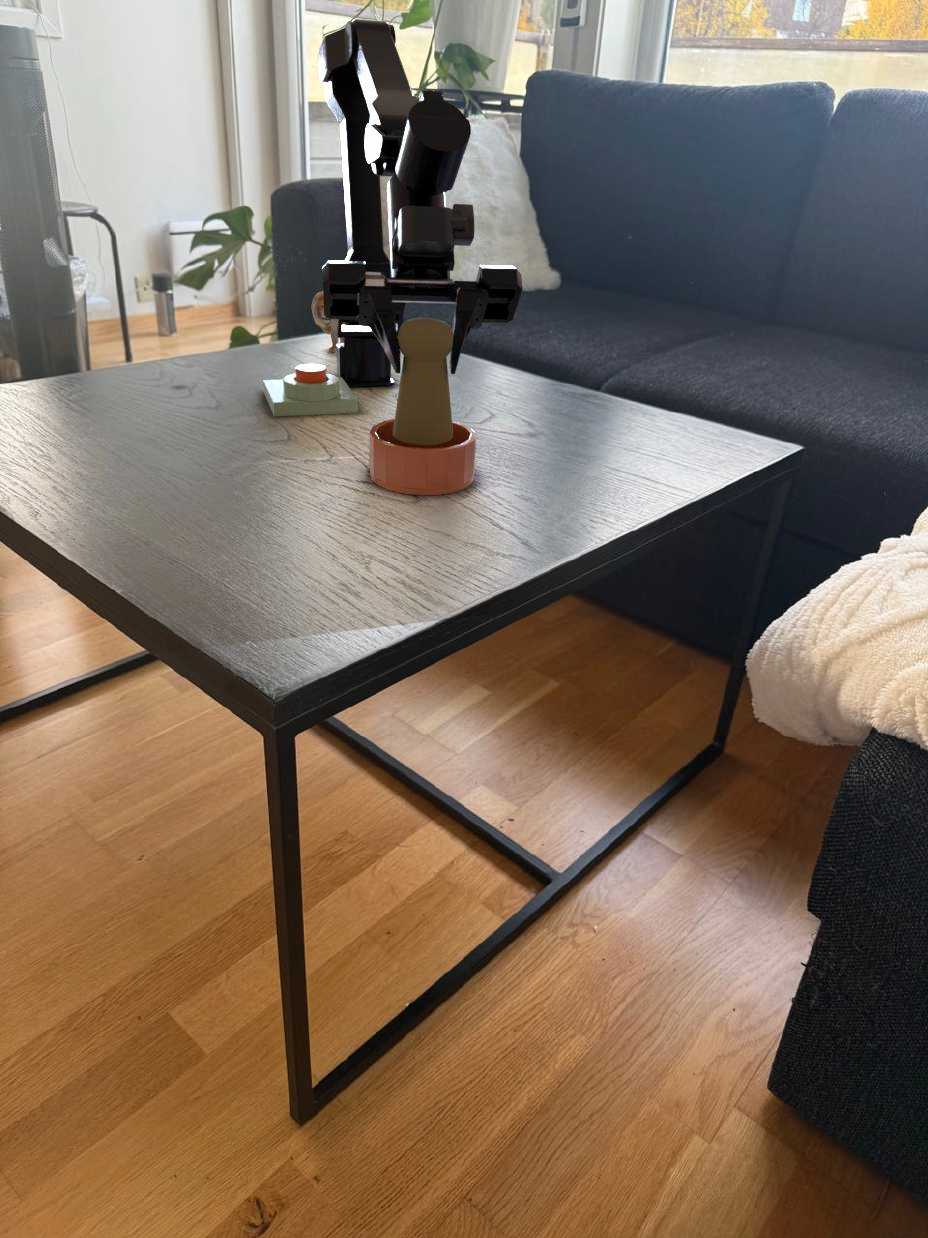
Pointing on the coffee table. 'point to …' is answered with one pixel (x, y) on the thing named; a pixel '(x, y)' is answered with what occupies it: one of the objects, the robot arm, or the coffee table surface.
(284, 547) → the coffee table surface
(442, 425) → the cork
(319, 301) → the lion figurine
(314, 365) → the button
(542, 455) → the coffee table surface
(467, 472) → the bowl
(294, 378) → the button box
